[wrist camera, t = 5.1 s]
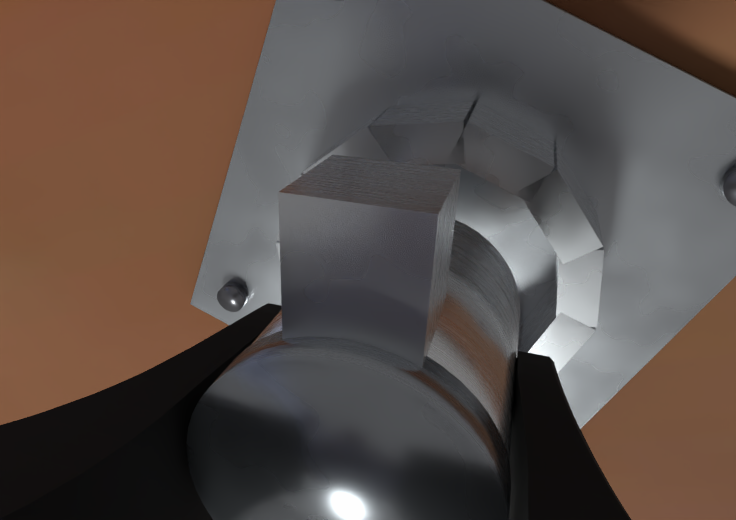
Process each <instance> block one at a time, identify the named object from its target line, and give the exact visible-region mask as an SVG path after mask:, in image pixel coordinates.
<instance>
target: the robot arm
mask: <svg viewBox="0 0 736 520" xmlns="http://www.w3.org/2000/svg"><path fill="white" fill-rule="evenodd" d="M281 310H282V306H281V305H276V304H271V303H267V304H265V305H264V306H262V307H260V308H258V309H256V310H255V311H253V312H251V313H249V314H248V315H246V316H244V317H243V318H241V319H239V320H238V321H236V322H234V323H232V324H231V325H229V326H227V327H226V328H224V329H222V330H221V331H219V332H217V333H215V334H214V335H212V336H210V337H209V338H207V339H205V340H203V341H202V342H200V343H198V344H196V345H195V346H193V347H191V348H189V349H187V350H185V351H184V352H182V353H180V354H178V355H176V356H174V357H172V358H170V359H168V360H166V361H165V362H163V363H161V364H159V365H157V366H155V367H153V368H151V369H149V370H147V371H145V372H143V373H141V374H139V375H137V376H134V377H132V378H130V379H128V380H126V381H123V382H121V383H119V384H116V385H114V386H112V387H109V388H107V389H105V390H102V391H100V392H97V393H95V394H92V395H90V396H87V397H84V398H82V399H79V400H76V401H73V402H70V403H68V404H65V405H62V406H59V407H56V408H54V409H51V410H48V411H45V412H42V413H39V414H36V415H33V416H30V417H27V418H23V419H20V420H17V421H13V422H10V423H7V424H3V425H0V520H213V519H212V517H211V516H210V514H209V513H208V511H207V509H206V508H205V506H204V505H203V503H202V501H201V499H200V497H199V495H198V493H197V490H196V488H195V485H194V482H193V480H192V477H191V474H190V469H189V464H188V459H187V445H186V442H187V433H188V426H189V423H190V420H191V416H192V413H193V411H194V409H195V407H196V405H197V403H198V401H199V400H200V399H201V397H202V396H203V395H204V394H205V392H206V391H207V390H208V388H209V387H210V386H211V385H212V384H213V383H214V382H215V381H216V379H217V378H218V377H219V376H220V375H221V374H222V373H223V371H224V370H225V369H226V368H227V367H228V366H229V365H230V363H231V362H232V361H233V360H234V359H235V358H236V357H237V356H238V355H239V354H240V353H241V352H243V351H244V350H245V349H246V348H247V347H249V346H250V345H251V344H252V343H253V342H254V341H255V340H256V339H257V337H258V336H259V335H260V334H261V333H262V332H263V330H264V329H265V328H266V327H267V326H268V325H269V324H270V322H271V321H272V320H273V319H274V318H275V317H276V316H277V314H278V313H279V312H280V311H281ZM509 463H510V471H511V496H510V511H509V520H631V518H630V517H629V515H628V514H627V512H626V511H625V509H624V508H623V506H622V504H621V503H620V501H619V500H618V498H617V496H616V495H615V493H614V491H613V490H612V488H611V486H610V485H609V483H608V481H607V479H606V478H605V476H604V474H603V472H602V470H601V469H600V467H599V465H598V463H597V461H596V460H595V458H594V456H593V454H592V452H591V450H590V448H589V446H588V444H587V442H586V440H585V438H584V436H583V434H582V432H581V430H580V428H579V425H578V423H577V421H576V419H575V417H574V415H573V412H572V410H571V408H570V405H569V403H568V401H567V398H566V396H565V393H564V391H563V388H562V385H561V383H560V380H559V377H558V374H557V370H556V367H555V363H554V362H553V360H552V359H551V358H550V357H549V356H543V355H538V354H533V353H528V352H522V351H518V355H517V362H516V376H515V389H514V405H513V418H512V432H511V446H510V459H509Z"/></svg>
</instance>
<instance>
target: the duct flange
mask: <svg viewBox="0 0 736 520" xmlns="http://www.w3.org/2000/svg"><path fill="white" fill-rule="evenodd" d="M331 155H341V156H350V157H358V158H367V159H375V160H383V161H392V162H400V163H409V164H417V165H426V166H434V167H443V168H451V169H459V170H461V174H460V183H459V191H458V199H457V208H456V216H455V220H457V221H460V222H462V223H464V224H466V225H468V226H469V227H471V228H472V229H474V230H475V231H477V232H479V233H480V234H481V235H482V236H483V237H485V238H486V239H487V240H488V241H489V242H490V243H491V244H492V245H493V246H494V247H495V248H496V249H497V250H498V251H499V252H500V254H501V255H502V257H503V258H504V259H505V261H506V262H507V264H508V266H509V268H510V270H511V272H512V274H513V276H514V279H515V281H516V284H517V287H518V292H519V297H520V323H519V336H518V350H517V355H518V351H522V352H528V353H533V354H538V355H543V356H549V357H550V358H551V359H552V360H553V362H554V363H555V367H556V370H557V374H558V377H559V380H560V383H561V385H562V388H563V391H564V393H565V396H566V398H567V401H568V403H569V405H570V408H571V410H572V412H573V415H574V417H575V419H576V421H577V423H578V425H579V428H580V429H581V428H582V427H583V426H584V425H585V424H586V423H587V422H588V421H589V420H590V419H591V418H592V417H593V416H594V415H595V414H596V413H597V412H598V411H599V410H600V409H601V408H602V407H603V406H604V405H605V404H606V403H607V402H608V401H609V400H610V399H611V398H612V397H613V396H614V395H615V394H616V393H617V392H618V391H619V390H620V389H621V388H622V387H623V386H624V385H625V384H626V383H627V382H628V381H629V380H630V379H631V378H632V377H633V376H635V375H636V374H637V373H638V372H639V371H640V370H641V369H642V368H643V367H644V366H645V365H646V364H647V363H648V362H649V361H650V360H651V359H652V358H653V357H654V356H655V355H656V354H657V353H658V352H659V351H660V350H661V349H662V348H663V347H664V346H665V345H666V344H667V343H668V342H669V341H670V340H671V339H672V338H673V337H674V336H675V335H676V334H677V333H678V332H679V331H680V330H681V329H682V328H683V327H684V326H685V325H686V324H687V323H688V322H689V321H690V320H691V319H692V318H693V317H694V316H695V315H696V314H697V313H698V312H699V311H700V310H701V309H702V308H703V307H704V306H705V305H706V304H707V303H708V302H710V301H711V300H712V299H713V298H714V297H715V296H716V295H717V294H718V293H719V292H720V291H721V290H722V289H723V288H724V287H725V286H726V285H727V284H728V283H729V282H730V281H731V280H732V279H733V278H734V277H735V276H736V97H735V96H733V95H731V94H729V93H727V92H725V91H723V90H721V89H719V88H717V87H715V86H713V85H711V84H710V83H708V82H706V81H704V80H702V79H700V78H698V77H696V76H694V75H692V74H690V73H688V72H686V71H684V70H682V69H680V68H678V67H676V66H674V65H672V64H670V63H668V62H666V61H664V60H662V59H660V58H658V57H656V56H654V55H652V54H650V53H648V52H646V51H644V50H642V49H640V48H638V47H636V46H634V45H632V44H630V43H628V42H626V41H624V40H623V39H621V38H619V37H617V36H615V35H613V34H611V33H609V32H607V31H605V30H603V29H601V28H599V27H597V26H595V25H593V24H591V23H589V22H587V21H585V20H583V19H581V18H579V17H577V16H575V15H573V14H571V13H569V12H567V11H565V10H563V9H561V8H559V7H557V6H555V5H553V4H551V3H549V2H547V1H545V0H276V3H275V6H274V10H273V13H272V17H271V21H270V24H269V28H268V31H267V35H266V38H265V42H264V45H263V49H262V52H261V56H260V60H259V63H258V67H257V70H256V74H255V77H254V81H253V84H252V88H251V91H250V95H249V98H248V102H247V106H246V109H245V113H244V116H243V120H242V123H241V127H240V130H239V134H238V137H237V141H236V144H235V148H234V152H233V155H232V159H231V162H230V166H229V169H228V173H227V176H226V180H225V183H224V187H223V190H222V194H221V198H220V201H219V205H218V208H217V212H216V215H215V219H214V222H213V226H212V229H211V233H210V236H209V240H208V244H207V247H206V251H205V254H204V258H203V261H202V265H201V268H200V272H199V275H198V279H197V282H196V286H195V290H194V293H193V297H192V300H191V305H193V306H195V307H197V308H199V309H201V310H202V311H204V312H206V313H208V314H210V315H212V316H213V317H215V318H217V319H219V320H221V321H223V322H225V323H226V324H228V325H231V324H232V323H234V322H236V321H238V320H239V319H241V318H243V317H244V316H246V315H248V314H249V313H251V312H253V311H255V310H256V309H258V308H260V307H262V306H264V305H265V304H267V303H271V304H276V305H281V306H282V304H281V270H280V236H279V201H278V192H279V191H281V190H282V189H283V188H285V187H286V186H288V185H289V184H291V183H292V182H294V181H295V180H296V179H298V178H299V177H301V176H302V175H304V174H305V173H307V172H308V171H309V170H311V169H312V168H314V167H315V166H317V165H318V164H320V163H321V162H322V161H324V160H325V159H327V158H328V157H330V156H331Z"/></svg>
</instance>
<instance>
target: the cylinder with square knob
mask: <svg viewBox="0 0 736 520" xmlns="http://www.w3.org/2000/svg"><path fill="white" fill-rule="evenodd" d="M460 174H461V170H459V169H451V168H443V167H434V166H426V165H417V164H409V163H400V162H392V161H383V160H375V159H367V158H358V157H350V156H341V155H331V156H330V157H328V158H327V159H325V160H324V161H322V162H321V163H320V164H318V165H317V166H315V167H314V168H312V169H311V170H309V171H308V172H307V173H305V174H304V175H302V176H301V177H299V178H298V179H296V180H295V181H294V182H292V183H291V184H289V185H288V186H286V187H285V188H283V189H282V190H281V191H279V192H278V201H279V236H280V270H281V304H282V310H281V311H280V312H279V313H278V314H277V316H276V317H275V318H274V319H273V320H272V321H271V322H270V324H269V325H268V326H267V327H266V328H265V329H264V330H263V332H262V333H261V334H260V335H259V336H258V337H257V339H256V340H255V341H254V342H253V343H252V344H251V345H250V346H249V347H247V348H246V349H245V350H244V351H243V352H241V353H240V354H239V355H238V356H237V357H236V358H235V359H234V360H233V361H232V362H231V363H230V365H229V366H228V367H227V368H226V369H225V370H224V371H223V373H222V374H221V375H220V376H219V377H218V378H217V379H216V381H215V382H214V383H213V384H212V385H211V386H210V387H209V388H208V390H207V391H206V392H205V394H204V395H203V396H202V397H201V399H200V400H199V401H198V403H197V405H196V407H195V409H194V411H193V413H192V416H191V420H190V423H189V426H188V433H187V442H186V445H187V459H188V464H189V469H190V474H191V477H192V480H193V482H194V485H195V488H196V490H197V493H198V495H199V497H200V499H201V501H202V503H203V505H204V506H205V508H206V509H207V511H208V513H209V514H210V516H211V517H212V519H213V520H509V511H510V496H511V471H510V463H509V459H510V446H511V432H512V418H513V405H514V389H515V376H516V362H517V350H518V336H519V323H520V297H519V292H518V287H517V284H516V281H515V279H514V276H513V274H512V272H511V270H510V268H509V266H508V264H507V262H506V261H505V259H504V258H503V257H502V255H501V254H500V252H499V251H498V250H497V249H496V248H495V247H494V246H493V245H492V244H491V243H490V242H489V241H488V240H487V239H486V238H485V237H483V236H482V235H481V234H480V233H479V232H477V231H475V230H474V229H472V228H471V227H469V226H468V225H466V224H464V223H462V222H460V221H457V220H455V216H456V208H457V199H458V191H459V183H460Z"/></svg>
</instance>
